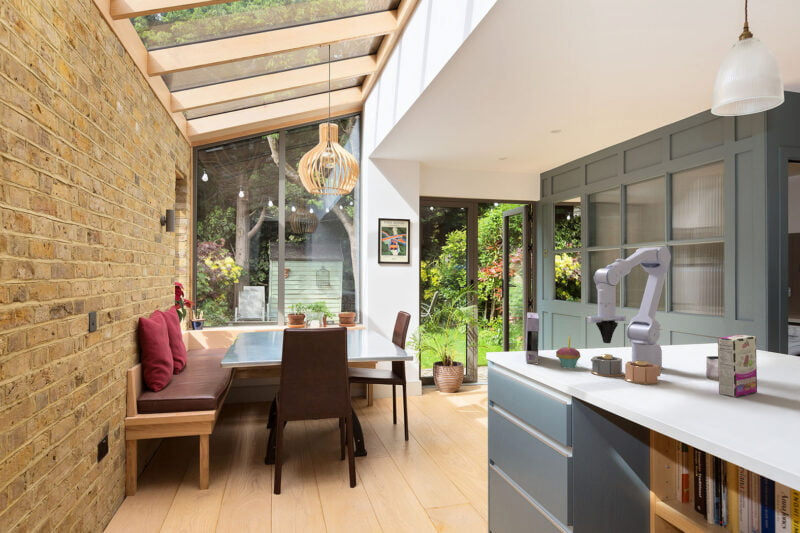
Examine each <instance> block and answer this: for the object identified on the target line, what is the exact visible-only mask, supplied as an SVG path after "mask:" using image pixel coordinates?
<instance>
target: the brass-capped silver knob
mask: <svg viewBox="0 0 800 533" xmlns="http://www.w3.org/2000/svg"><path fill="white" fill-rule="evenodd" d="M600 356H601V360H613V357H614V356H613V354H610V353H609V354H608V353H604V354H603V353H602V354H601V355H600Z"/></svg>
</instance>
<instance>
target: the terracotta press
mask: <svg viewBox="0 0 800 533" xmlns="http://www.w3.org/2000/svg"><path fill="white" fill-rule="evenodd" d="M624 366H625V367H624V371H625V372H624V375H625V376H623V380H624V381H625V382H627V383H631V384H635V385H636V384H637V385H647V386H649V385H658V384H660V383H661V382H660V379H658V378H659V377H661V369H660V365H655V364H651V363H648V367H638V366H635V362H632V360H631V361H627V362H626V363H625V365H624Z"/></svg>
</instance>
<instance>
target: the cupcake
mask: <svg viewBox="0 0 800 533" xmlns="http://www.w3.org/2000/svg"><path fill="white" fill-rule="evenodd" d="M567 339H568V340H567V347H565V346H564V347H561V348H559V349H558V350H556V351H555V352H556V353H555V355H556V356H555V357H556V358H558V359H559V362H560V365H561V367H562V368H564V369H574V368H576V366H577V363H578V361H579V359H580V358H581V353H580V351H579V350H577V349H576V348H573V347H571V335H570V334H569V335H568V338H567Z"/></svg>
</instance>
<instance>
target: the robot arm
mask: <svg viewBox="0 0 800 533" xmlns="http://www.w3.org/2000/svg"><path fill="white" fill-rule="evenodd" d="M671 258H672V256H671V253H670V251H669V248H668V247H667V246H665V245H664V246H651V247H645V246H643V247H640V248H638V249H636V250H635V252H634V253H633V254H631V255H629V256H628V257H627V258H626V259H624V258H617V259H614V260H615V261H614V262H613V263H611V264H608V265H606V267H604V268H599V269H597V270H596V271H595V273H594V275H593V281H594V283H595V288H596V290H597V315H593V316H587V318H586V320H587V321H586V322H587V323H590V324H594V323H595V324H596V326H597V328H598V330H599V332H600V335H601V338H602V342H603V344H611V343H612V339H613V336H614V332H615V331H616V328H617V327H618V325H619V324H618V322H626V321H627V316H626V315H624V314H617V309H616V307H617V306H616V304H617V303H616V301H617V299H616V298H617V296H616V294H617V292H616V291H617V290H616V289H617V288H616V287H617V286H616V285H618V284H619V282H620V279H622V278H624V277H625V276H626V275H629V273H631V271H632V268H633V267H636V266H637V265H640V266H641V267H642V269H643V270H644V272H647V273H648V278H647V281H646V286H645V289H644V293H643V296H642V300H641V304H640V308H639V310H638V311H639V312H638V314H637V315H636V316H634V317H632V318H631V319H630V322H629V324H628V326H627V327H626V331H625V332H626V337H627V339H628V340H629V343H631V361H632V362H635V360H644V361H648V363H651V364H655V365H660V370H661V369H662V370H663V369H664V367H663V365H662V364H663V352H662V347H661V345H660V344H659V343H657V342H658V340H659V339H660V335H661V334H660V329H661V324H660V323H659V321H657V319H656V314H657V310H658V307H659V303H660V299H661V295H662V291H663V287H664V283H665V280H666V276H667V272H668V269H669V266H670V263H671Z"/></svg>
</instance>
